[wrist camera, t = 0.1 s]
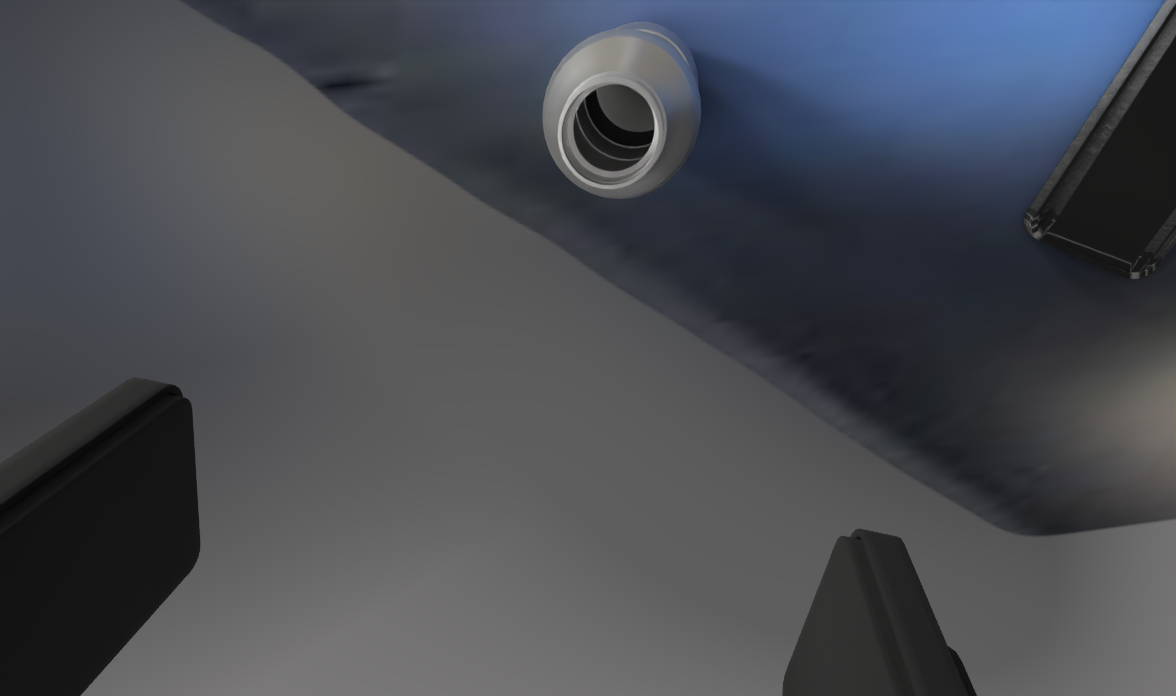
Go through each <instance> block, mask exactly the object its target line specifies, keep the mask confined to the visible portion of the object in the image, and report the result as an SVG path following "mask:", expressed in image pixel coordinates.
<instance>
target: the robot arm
mask: <svg viewBox="0 0 1176 696" xmlns="http://www.w3.org/2000/svg"><path fill="white" fill-rule="evenodd" d="M194 449H195V448H194V432H193V416H192V406H191V403H190V401H189V400H188V399H187V398H183V395H182V392H181V390H180V389H179V388H178V387H176V386H175V385H171V384H166V383H161V382H157V381H152V380H147V379H142V378H132V379H129V380H127V381H125V382H124V383H122V384H121V385H119V386H118V387H116V388H115V389H113V390H112V391H111V392H109V393H107V394H106V395H104V396H103V397H101V398H99V399H98V400H97V401H95V402H93V403H92V404H90V405H89V406H87V407H86V408H84V409H83V410H81V411H80V412H78V413H76V414H75V415H73V416H72V417H71V418H69V419H67V420H66V421H64V422H63V423H61V424H60V425H58V426H57V427H55V428H54V429H52V430H50V431H49V432H47V433H46V434H44V435H43V436H41V437H40V438H38V439H37V440H35V441H34V442H32V443H31V444H29V445H28V446H26V447H24V448H23V449H21V450H20V451H18V452H17V453H15V454H14V455H12V456H11V457H9V458H8V459H6V460H5V461H3V462H1V463H0V696H80V695H81V694H82V693H83V692H84V691H85V690H86V689H87V688H88V686H89V685H90V684H91V683H92V682H93V681H94V679H95V678H96V677H97V676H98V675H99V674H100V673H101V672H102V671H103V670H104V668H105V667H106V666H107V665H108V664H109V663H110V662H111V661H112V659H113V658H114V657H115V656H116V655H117V654H118V653H119V652H120V650H121V649H122V648H123V647H124V646H125V645H126V644H127V642H128V641H129V640H130V639H131V638H132V637H133V636H134V635H135V633H136V632H137V631H138V630H139V629H140V628H141V627H142V626H143V624H144V623H145V622H146V621H147V620H148V619H149V618H150V617H151V615H152V614H153V613H154V612H155V611H156V610H157V609H158V608H159V606H160V605H161V604H162V603H163V602H164V601H165V600H166V598H167V597H168V596H169V595H170V594H171V593H172V592H173V591H174V590H175V588H176V587H177V586H178V585H179V584H180V583H181V582H182V580H183V579H184V578H185V577H186V576H187V575H188V574H189V573H190V571H191V570H192V569H193V567H194V565H195V563H196V561H197V559H198V556H199V552H200V533H199V532H200V530H199V514H198V497H197V481H196V467H195V466H196V465H195V450H194ZM783 696H977V695H976V693H975V690H974V688H973V686H972V684H971V681H970V679H969V677H968V674H967V672H966V670H965V667H964V665H963V663H962V661H961V659H960V658H959V656H958V655H957V653H956V652H955V651H954V650H953V649H951V648H950V647H948V646H947V644H946V642H945V639H944V637H943V634H942V632H941V630H940V627H939V625H938V623H937V620H936V618H935V616H934V613H933V611H932V609H931V606H930V604H929V601H928V599H927V597H926V594H925V592H924V589H923V587H922V585H921V582H920V580H919V578H918V575H917V573H916V571H915V568H914V566H913V564H912V561H911V559H910V556H909V554H908V552H907V549H906V547H905V544H904V543H903V541H902V539H901V538H899V537H896V536H892V535H887V534H882V533H877V532H873V531H868V530H863V529H857V530H855V531H854V532H853V533H852V535H851V537H845V536H841V537H840V538H839V539H838V540H837V542H836V544H835V546H834V549H833V551H832V554H831V557H830V559H829V562H828V564H827V567H826V569H825V572H824V575H823V577H822V580H821V582H820V585H819V588H818V590H817V593H816V595H815V598H814V600H813V603H812V606H811V608H810V611H809V613H808V616H807V618H806V621H805V624H804V626H803V629H802V631H801V634H800V636H799V639H798V642H797V644H796V647H795V650H794V652H793V655H792V657H791V660H790V662H789V665H788V668H787V670H786V673H785V676H784V682H783Z"/></svg>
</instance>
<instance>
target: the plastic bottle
mask: <svg viewBox="0 0 1176 696" xmlns="http://www.w3.org/2000/svg"><path fill="white" fill-rule="evenodd" d="M700 119H701V103H700V94H699V91H698V73H697V69H696V65H695V61H694V58H693V56H692V54H691V52H690V50H689V48H688V47H687V46H686V44H685V43H684V42H683V40H682V39H681V38H680V37H679V36H678V35H676V34H675V33H674V32H673V31H671V30H670V29H668V28H666V27H664V26H662V25H659V24H655V23H652V22H632V23H626V24H624V25H621V26H619V27H616V28H614V29H613V30H609V31H603V32H601V33H598V34H596V35H593V36H591V37H588V38H587V39H585V40H584V41H582V42H581V43H580V44H578V45H577V46H575V47H574V48H573V49H572V50H571V51H570V52H569V53H568V54H567V55H566V56H565V57H564V58H563V59H562V61H561V62H560V64H559V65H558V67H557V68H556V70H555V71H554V73H553V75H552V77H551V80H550V82H549V84H548V87H547V90H546V94H545V99H544V103H543V128H544V135H545V139H546V142H547V145H548V148H549V151H550V154H551V155H552V157H553V159H554V161H555V162H556V164H557V166H558V167H559V168H560V170H561V171H562V172H563V173H564V174H565V176H566V177H567V178H568V179H570V180H571V181H572V182H573V183H575V184H576V185H577V186H578V187H580V188H582V189H584V190H586V191H588V192H589V193H591V194H594V195H598V196H601V197H605V198H613V199H626V198H633V197H638V196H641V195H644V194H647V193H650V192H652V191H654V190H655V189H657V188H659V187H661V186H662V185H664V184H665V183H666V182H668V181H669V180H670V179H671V178H672V177H673V176H674V175H676V174H677V172H678V171H679V170H680V169H681V167H682V166H683V165H684V164H685V162H686V161H687V159H688V157H689V155H690V153H691V152H692V150H693V148H694V145H695V142H696V139H697V136H698V133H699V128H700Z"/></svg>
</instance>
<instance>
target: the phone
mask: <svg viewBox="0 0 1176 696" xmlns="http://www.w3.org/2000/svg"><path fill="white" fill-rule="evenodd" d="M1023 224H1024V228H1025V230H1026V232H1027V233H1028V234H1029V235H1031V236H1032V237H1034V238H1035V239H1037V240H1039V241H1040V242H1042V243H1045V244H1047V245H1049V246H1052V247H1054V248H1056V249H1059V250H1061V251H1064V252H1066V253H1068V254H1071V255H1073V256H1075V257H1078V258H1080V259H1082V260H1085V261H1087V262H1090V263H1092V264H1094V265H1097V266H1099V267H1101V268H1104V269H1106V270H1109V271H1111V272H1113V273H1116V274H1118V275H1120V276H1123V277H1125V278H1129V279H1139V278H1143V277H1146V276H1147V275H1149V274H1151V273H1152V272H1153V271H1154V270H1155V269H1156V268H1157V267H1158V266H1159V264H1160V263H1161V262H1162V260H1163V259H1164V258H1165V256H1166V255H1167V254H1168V252H1169V251H1170V250H1171V249H1172V247H1173V246H1174V245H1175V243H1176V0H1166V1H1165V2H1164V4H1163V5H1162V7H1161V8H1160V10H1159V11H1158V13H1157V14H1156V16H1155V17H1154V19H1153V20H1152V22H1151V23H1150V25H1149V26H1148V28H1147V29H1146V31H1145V33H1144V34H1143V36H1142V37H1141V39H1140V40H1139V42H1138V43H1137V45H1136V46H1135V48H1134V49H1133V51H1132V52H1131V54H1130V55H1129V57H1128V58H1127V60H1126V61H1125V63H1124V64H1123V66H1122V67H1121V69H1120V71H1119V72H1118V74H1117V75H1116V77H1115V78H1114V80H1113V81H1112V83H1111V84H1110V86H1109V87H1108V89H1107V90H1106V92H1105V93H1104V95H1103V96H1102V98H1101V99H1100V101H1099V102H1098V104H1097V105H1096V107H1095V109H1094V110H1093V112H1092V113H1091V115H1090V116H1089V118H1088V119H1087V121H1086V122H1085V124H1084V125H1083V127H1082V128H1081V130H1080V131H1079V133H1078V134H1077V136H1076V137H1075V139H1074V140H1073V142H1072V144H1071V145H1070V147H1069V148H1068V150H1067V151H1066V153H1065V154H1064V156H1063V157H1062V159H1061V160H1060V162H1059V163H1058V165H1057V166H1056V168H1055V169H1054V171H1053V172H1052V174H1051V175H1050V177H1049V178H1048V180H1047V182H1046V183H1045V185H1044V186H1043V188H1042V189H1041V191H1040V192H1039V194H1038V195H1037V197H1036V198H1035V200H1034V201H1033V203H1032V204H1031V206H1030V207H1029V209H1028V210H1027V212H1026V214H1025V216H1024V222H1023Z"/></svg>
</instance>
